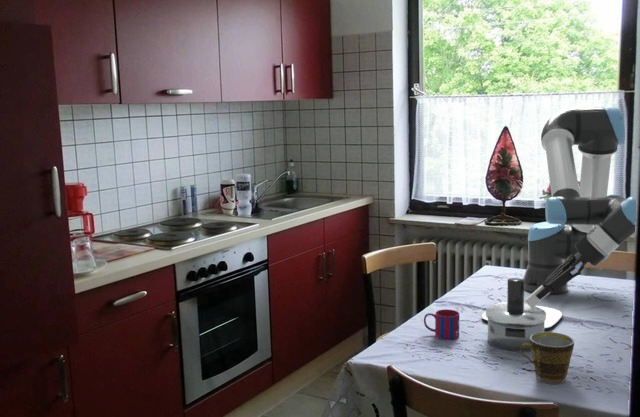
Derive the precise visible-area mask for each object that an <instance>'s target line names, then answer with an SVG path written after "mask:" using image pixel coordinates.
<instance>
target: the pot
mask: <svg viewBox="0 0 640 417" xmlns="http://www.w3.org/2000/svg"><path fill="white" fill-rule="evenodd" d="M544 323H545V321H544V322H542V323H540V324H536V325H530V326H513V325H505V324H500V323H497V322H494V321H491V320H490V319H488V321H487V342H488V343H489V344H490V345H491V346H493V347H494V348H496V349H497V348H498V349H501V350H504V351H510V352H520V348H521V346H522V345H523V344H526V343H527V344H530V345H531V343H530V337H531V335H533V334H535V333H540V332H545V329H544ZM523 352H532V350H531V348H530V347H524V348H523V349H522V353H523Z"/></svg>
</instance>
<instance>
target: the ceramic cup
mask: <svg viewBox="0 0 640 417" xmlns="http://www.w3.org/2000/svg"><path fill="white" fill-rule="evenodd" d="M530 343H531V345H530V344H527V343H526V344H523V345H522V346H521V348H520V351H519V352H520V354H521V355H522V356H523V357H524V358H526V359H527V360H528V361H529V362H530V363H531V364H533V367H534V371H535V378H536V379H537V380H538V381H539V382H541V383H543V382H544V383H545V384H548V385H560V383H561V384H563V383H564V382H565V381H566V379H567V376H568V371H569V367H570V364H571V363H570V362H571V360H572V359H571V358H572V355H573V350H574V346H575V340H574V338H573V337H571V336H570V335H566V334H563V333H561V332H552V331H551V332H550V331H544V332H540V333H535V334H533V335H531V337H530ZM524 347H530V348H531V350H532V351H531V354H532V360H531V358H530V357H529V356H527V355H526V354H524V353H523V352H522V349H523V348H524ZM544 383H543V384H544Z"/></svg>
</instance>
